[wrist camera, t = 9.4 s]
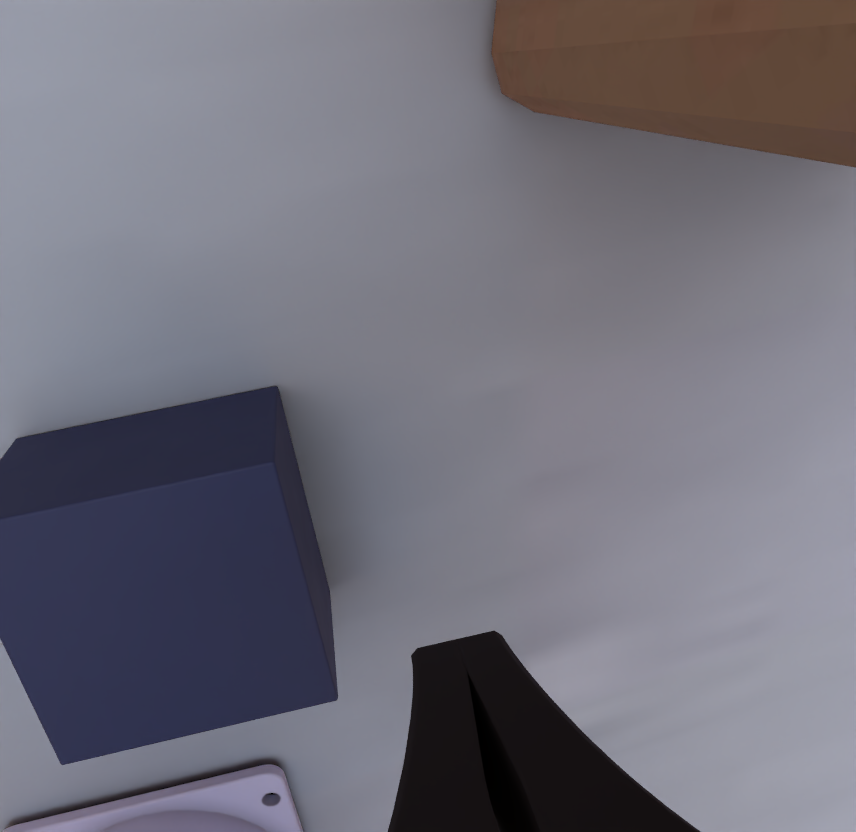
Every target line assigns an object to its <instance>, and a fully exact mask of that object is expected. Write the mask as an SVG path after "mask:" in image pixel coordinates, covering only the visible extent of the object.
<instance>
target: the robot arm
mask: <svg viewBox="0 0 856 832" xmlns="http://www.w3.org/2000/svg"><path fill="white" fill-rule="evenodd" d="M411 657H412V664H413V698H412V710H411V720H410V727H409V733H408V740H407V747H406V753H405V759H404V765H403V770H402V774H401V779H400V783H399V788H398V792H397V797H396V801H395V805H394V810H393V814H392V818H391V822H390V825H389V829H388V832H700V831H699V830H697V829H696V828H695V827H693V826H692V825H691V824H689V823H688V822H687V821H685V820H684V819H683V818H681V817H680V816H679V815H677V814H676V813H675V812H673V811H672V810H671V809H669V808H668V807H667V806H666V805H664V804H663V803H662V802H661V801H659V800H658V799H657V798H656V797H654V796H653V795H652V794H651V793H650V792H648V791H647V790H646V789H645V788H643V787H642V786H641V785H640V784H639V783H637V782H636V781H635V780H634V779H633V778H632V777H630V776H629V775H628V774H627V773H626V772H625V771H624V770H623V769H621V768H620V767H619V766H618V765H617V764H616V763H615V762H614V761H613V760H611V759H610V758H609V757H608V756H607V755H606V754H605V753H604V752H603V751H602V750H601V749H600V748H599V747H598V746H597V745H596V744H594V743H593V742H592V741H591V740H590V739H589V738H588V737H587V736H586V735H585V734H584V733H583V732H582V731H581V730H580V729H579V728H578V727H577V726H576V725H575V724H574V722H573V721H572V720H571V719H570V718H569V717H568V716H567V715H566V714H565V713H564V712H563V711H562V710H561V709H560V708H559V706H558V705H557V704H556V703H555V702H554V701H553V700H552V699H551V698H550V697H549V696H548V694H547V693H546V692H545V691H544V690H543V689H542V688H541V686H540V685H539V684H538V683H537V682H536V680H535V679H534V678H533V677H532V676H531V674H530V673H529V672H528V671H527V670H526V668H525V667H524V666H523V664H522V663H521V662H520V661H519V659H518V658H517V657H516V655H515V654H514V653H513V651H512V650H511V648H510V647H509V645H508V644H507V643H506V641H505V639H504V638H503V636H502V635H501V634H499V633H497V632H496V631H491V632H486V633H482V634H477V635H473V636H469V637H464V638H460V639H455V640H451V641H447V642H442V643H438V644H434V645H429V646H425V647H420V648H417V649H416V650H415V652H414V653H413V654H412V655H411ZM268 793H276V794H274V795H267V794H268ZM3 832H303V829H302V826H301V823H300V820H299V817H298V814H297V810H296V807H295V804H294V801H293V798H292V795H291V792H290V789H289V786H288V783H287V779H286V776H285V773H284V772H283V770H282V769H281V768H280V767H278V766H276V765H271V764H267V765H261V766H257V767H253V768H248V769H244V770H240V771H236V772H232V773H228V774H224V775H219V776H215V777H211V778H207V779H203V780H199V781H195V782H191V783H186V784H182V785H178V786H174V787H170V788H166V789H162V790H158V791H153V792H149V793H145V794H141V795H137V796H133V797H129V798H124V799H120V800H116V801H112V802H108V803H104V804H100V805H96V806H91V807H87V808H83V809H79V810H75V811H71V812H67V813H62V814H58V815H54V816H50V817H46V818H42V819H38V820H34V821H29V822H25V823H21V824H17V825H13V826H10V827H8V828H6V829H5V830H4V831H3Z"/></svg>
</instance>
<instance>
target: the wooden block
mask: <svg viewBox="0 0 856 832" xmlns="http://www.w3.org/2000/svg"><path fill="white" fill-rule="evenodd" d="M491 53H492V57H493V61H494V65H495V69H496V73H497V77H498V80H499V84H500V88H501V92H502V94H504V95H506V96H507V97H509V98H511V99H513V100H514V101H516V102H518V103H520V104H521V105H523V106H525V107H526V108H528V109H530V110H532V111H533V112H538V113H544V114H549V115H555V116H561V117H567V118H573V119H578V120H584V121H590V122H596V123H602V124H607V125H613V126H619V127H625V128H631V129H636V130H642V131H648V132H654V133H660V134H665V135H671V136H677V137H683V138H689V139H694V140H700V141H706V142H712V143H718V144H723V145H729V146H735V147H741V148H747V149H752V150H758V151H764V152H770V153H776V154H781V155H787V156H793V157H799V158H805V159H810V160H816V161H822V162H828V163H834V164H839V165H845V166H851V167H856V0H497V3H496V12H495V22H494V32H493V42H492V52H491Z"/></svg>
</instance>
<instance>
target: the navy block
mask: <svg viewBox="0 0 856 832" xmlns="http://www.w3.org/2000/svg"><path fill="white" fill-rule="evenodd" d="M0 639H1V641H2V643H3V645H4V647H5V649H6V651H7V653H8V655H9V657H10V659H11V662H12V664H13V666H14V668H15V670H16V672H17V674H18V676H19V678H20V680H21V682H22V684H23V686H24V689H25V691H26V693H27V695H28V697H29V699H30V701H31V703H32V705H33V707H34V709H35V711H36V713H37V716H38V718H39V720H40V722H41V724H42V726H43V728H44V730H45V732H46V734H47V736H48V738H49V740H50V743H51V745H52V747H53V749H54V751H55V753H56V755H57V757H58V759H59V761H60V763H61V764H62V765H65V764H69V763H73V762H77V761H82V760H86V759H90V758H94V757H99V756H103V755H107V754H111V753H116V752H120V751H124V750H128V749H133V748H137V747H141V746H145V745H149V744H154V743H158V742H162V741H166V740H171V739H175V738H179V737H183V736H188V735H192V734H196V733H200V732H205V731H209V730H213V729H217V728H222V727H226V726H230V725H234V724H238V723H243V722H247V721H251V720H255V719H260V718H264V717H268V716H272V715H277V714H281V713H285V712H289V711H294V710H298V709H302V708H306V707H311V706H315V705H319V704H323V703H327V702H332V701H336V700H337V699H338V691H337V678H336V665H335V652H334V638H333V625H332V612H331V599H330V590H329V586H328V582H327V578H326V574H325V570H324V567H323V563H322V559H321V555H320V551H319V547H318V543H317V539H316V535H315V531H314V527H313V523H312V519H311V515H310V511H309V507H308V504H307V500H306V496H305V492H304V488H303V484H302V480H301V476H300V472H299V468H298V464H297V460H296V456H295V452H294V448H293V444H292V441H291V437H290V433H289V429H288V425H287V421H286V417H285V413H284V409H283V405H282V401H281V397H280V393H279V389H278V387H277V386H274V387H269V388H264V389H259V390H254V391H249V392H244V393H240V394H235V395H230V396H225V397H220V398H215V399H210V400H205V401H200V402H195V403H190V404H185V405H180V406H175V407H171V408H166V409H161V410H156V411H151V412H146V413H141V414H136V415H131V416H126V417H121V418H116V419H111V420H106V421H102V422H97V423H92V424H87V425H82V426H77V427H72V428H67V429H62V430H57V431H52V432H47V433H42V434H37V435H33V436H28V437H23V438H18V439H16V440H15V441H14V442H13V444H12V445H11V447H10V448H9V449H8V451H7V452H6V453H5V455H4V456H3V457H2V459H1V460H0Z"/></svg>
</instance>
